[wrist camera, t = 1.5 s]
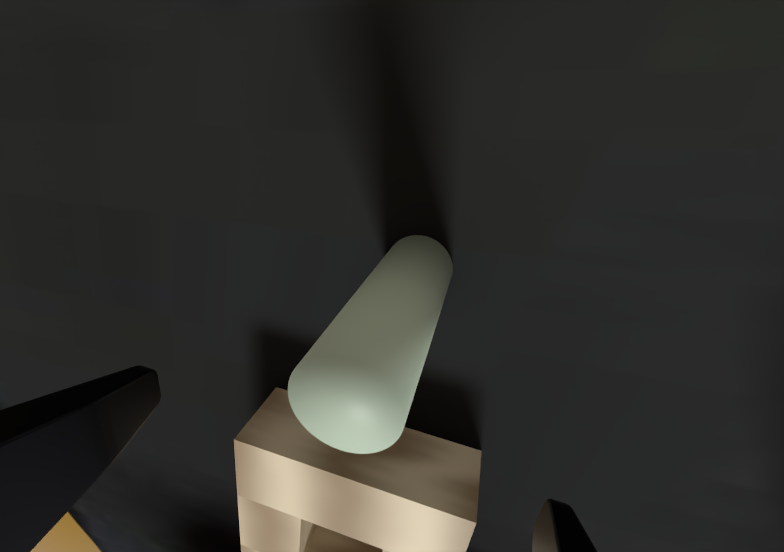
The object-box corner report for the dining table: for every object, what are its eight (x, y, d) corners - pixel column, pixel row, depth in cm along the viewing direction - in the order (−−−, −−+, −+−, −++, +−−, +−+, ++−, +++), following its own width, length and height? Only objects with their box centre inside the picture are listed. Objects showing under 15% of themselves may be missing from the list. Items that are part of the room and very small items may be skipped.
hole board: (481, 450, 20) (476, 523, 17) (436, 584, 26) (425, 660, 23) (276, 387, 23) (233, 439, 19) (276, 523, 28) (243, 583, 25)
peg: (459, 243, 16) (414, 374, 8) (445, 304, 18) (396, 468, 10) (391, 228, 17) (288, 338, 9) (382, 288, 18) (286, 432, 10)
